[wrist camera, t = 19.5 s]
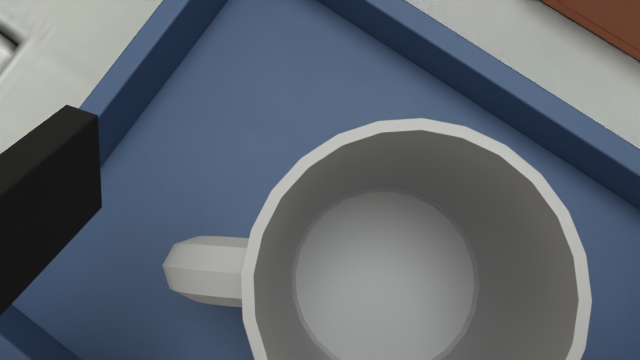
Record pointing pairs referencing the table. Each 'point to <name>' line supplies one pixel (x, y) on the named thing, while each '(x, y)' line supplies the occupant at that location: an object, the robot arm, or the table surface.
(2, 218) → the robot arm
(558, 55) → the table surface
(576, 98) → the table surface
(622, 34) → the terracotta tray
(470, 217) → the cup
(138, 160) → the blue tray
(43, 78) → the table surface
